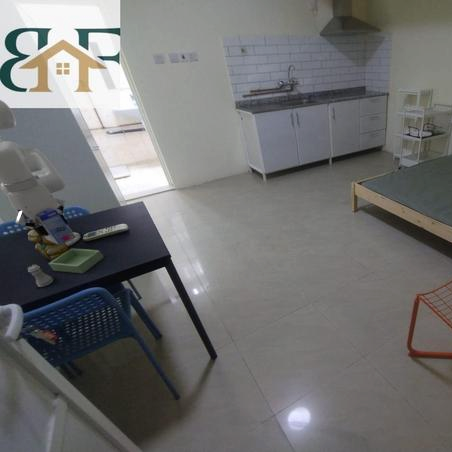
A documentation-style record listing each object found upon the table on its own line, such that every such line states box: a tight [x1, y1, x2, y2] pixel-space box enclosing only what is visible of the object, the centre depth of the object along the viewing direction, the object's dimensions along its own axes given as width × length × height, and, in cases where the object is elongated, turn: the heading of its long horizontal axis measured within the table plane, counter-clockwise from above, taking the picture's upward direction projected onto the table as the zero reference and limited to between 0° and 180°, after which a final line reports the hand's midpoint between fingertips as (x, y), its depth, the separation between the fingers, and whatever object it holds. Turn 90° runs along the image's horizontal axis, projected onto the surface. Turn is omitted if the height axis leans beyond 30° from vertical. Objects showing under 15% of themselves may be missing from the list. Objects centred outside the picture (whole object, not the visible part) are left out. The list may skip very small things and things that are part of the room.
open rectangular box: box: [48, 247, 105, 274], centre depth 110 cm, size 14×10×4 cm
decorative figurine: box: [25, 226, 69, 261], centre depth 113 cm, size 10×8×15 cm
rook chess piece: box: [27, 264, 54, 288], centre depth 100 cm, size 4×4×8 cm
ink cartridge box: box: [36, 208, 75, 245], centre depth 100 cm, size 10×6×14 cm, turn 64°
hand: (54, 229), depth 102 cm, fingers closed on ink cartridge box, 6 cm apart
